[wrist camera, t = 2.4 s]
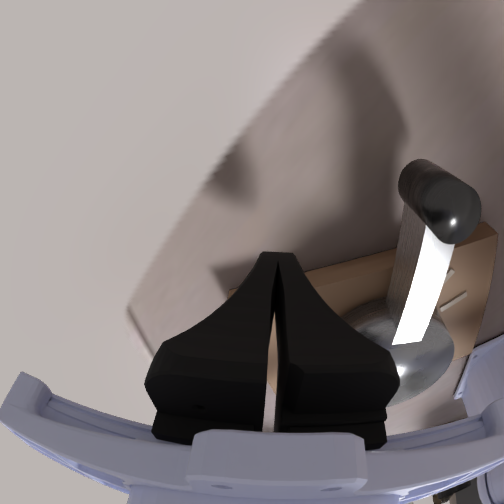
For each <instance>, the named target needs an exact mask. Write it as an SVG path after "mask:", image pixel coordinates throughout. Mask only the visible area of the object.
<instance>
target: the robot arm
mask: <svg viewBox="0 0 504 504" xmlns="http://www.w3.org/2000/svg"><path fill="white" fill-rule="evenodd" d="M274 312H275V326H276V340H277V356H278V367H277V388H276V406H275V421H274V433H273V432H262V428H263V418H264V407H265V396H266V384H267V369H268V350H269V344H270V338H271V332H272V325H273V319H274ZM144 385H145V388H146V391H147V392H148V395H149V397H150V398H151V400H152V402H153V404H154V406H155V407H156V409H157V413H156V416H155V420H154V423H153V426H150V425H146V424H142V423H138V422H134V421H130V420H127V419H123V418H120V417H116V416H113V415H110V414H107V413H103V412H100V411H97V410H94V409H91V408H88V407H86V406H83V405H80V404H78V403H75V402H72V401H70V400H67V399H65V398H62V397H60V396H57V395H55V394H53V393H52V392H51V390H50V389H49V388H48V386H47V385H46V384H44V383H43V382H42V381H41V380H39V379H37V378H35V377H33V376H31V375H29V374H26V373H24V372H20V374H19V376H18V377H17V379H16V381H15V382H14V384H13V386H12V388H11V390H10V391H9V393H8V395H7V397H6V399H5V400H4V402H3V404H2V406H1V408H0V422H1V423H2V424H3V425H4V426H5V427H7V428H8V429H9V430H10V431H11V432H12V433H14V434H15V435H16V436H17V437H19V438H20V439H21V440H22V441H24V442H25V443H26V444H27V445H29V446H30V447H32V448H33V449H35V450H37V451H38V452H40V453H42V454H43V455H45V456H47V457H49V458H50V459H52V460H54V461H56V462H58V463H60V464H61V465H63V466H65V467H67V468H69V469H71V470H73V471H75V472H77V473H80V474H81V475H83V476H86V477H88V478H90V479H92V480H94V481H96V482H99V483H101V484H104V485H106V486H108V487H111V488H113V489H116V490H119V491H121V492H124V493H127V494H129V498H128V501H127V504H406V503H409V502H413V501H416V500H419V499H422V498H425V497H428V496H431V495H434V494H437V493H439V492H442V491H445V490H447V489H450V488H452V487H455V486H457V485H459V484H462V483H464V482H466V481H469V480H471V479H473V478H475V477H477V487H478V493H479V497H480V500H481V502H482V503H483V504H504V334H503V335H501V336H499V337H497V338H495V339H493V340H491V341H489V342H486V343H484V344H482V345H480V346H478V347H475V348H474V349H473V351H472V353H471V354H470V356H469V359H468V362H467V365H466V367H465V370H464V373H463V375H462V378H461V380H460V383H459V385H458V387H457V390H456V392H455V394H454V399H455V400H456V399H459V398H461V397H462V400H463V403H464V406H465V409H466V412H467V415H468V418H465V419H462V420H458V421H455V422H451V423H448V424H444V425H440V426H436V427H432V428H427V429H423V430H418V431H413V432H408V433H402V434H397V435H390V436H386V430H385V424H384V421H386V419H387V413H386V406H387V405H388V404H389V402H390V401H391V399H392V398H393V397H394V395H395V394H396V392H397V391H398V389H399V387H400V377H399V373H398V370H397V367H396V364H395V362H394V360H393V358H392V355H391V353H390V351H388V350H387V349H385V348H383V347H381V346H380V345H378V344H376V343H375V342H373V341H371V340H369V339H368V338H366V337H365V336H364V335H362V334H361V333H359V332H358V331H356V330H355V329H354V328H353V327H351V326H350V325H349V324H348V323H346V322H345V321H344V320H343V319H342V318H341V317H339V316H338V315H337V314H336V313H335V312H334V311H333V310H332V309H331V308H330V307H329V306H328V304H327V303H326V302H325V301H324V300H323V299H322V297H321V296H320V295H319V294H318V292H317V291H316V290H315V288H314V287H313V286H312V284H311V283H310V281H309V280H308V278H307V276H306V275H305V273H304V272H303V270H302V268H301V266H300V265H299V263H298V261H297V259H296V256H295V255H294V254H293V253H282V252H262V253H261V254H260V256H259V258H258V260H257V262H256V264H255V266H254V267H253V269H252V270H251V272H250V273H249V275H248V276H247V278H246V279H245V280H244V282H243V283H242V284H241V285H240V286H239V288H238V289H237V290H236V291H235V292H234V293H233V295H232V296H231V297H230V298H229V299H228V300H227V301H226V302H225V303H224V304H222V305H221V306H220V307H219V308H218V309H217V310H215V311H214V312H213V313H212V314H211V315H209V316H208V317H207V318H205V319H204V320H202V321H201V322H199V323H198V324H196V325H195V326H193V327H192V328H190V329H188V330H187V331H185V332H183V333H181V334H179V335H177V336H175V337H173V338H171V339H169V340H166V341H164V342H163V343H162V345H161V346H160V348H159V350H158V351H157V353H156V355H155V357H154V358H153V361H152V363H151V365H150V368H149V371H148V373H147V376H146V379H145V383H144Z"/></svg>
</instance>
